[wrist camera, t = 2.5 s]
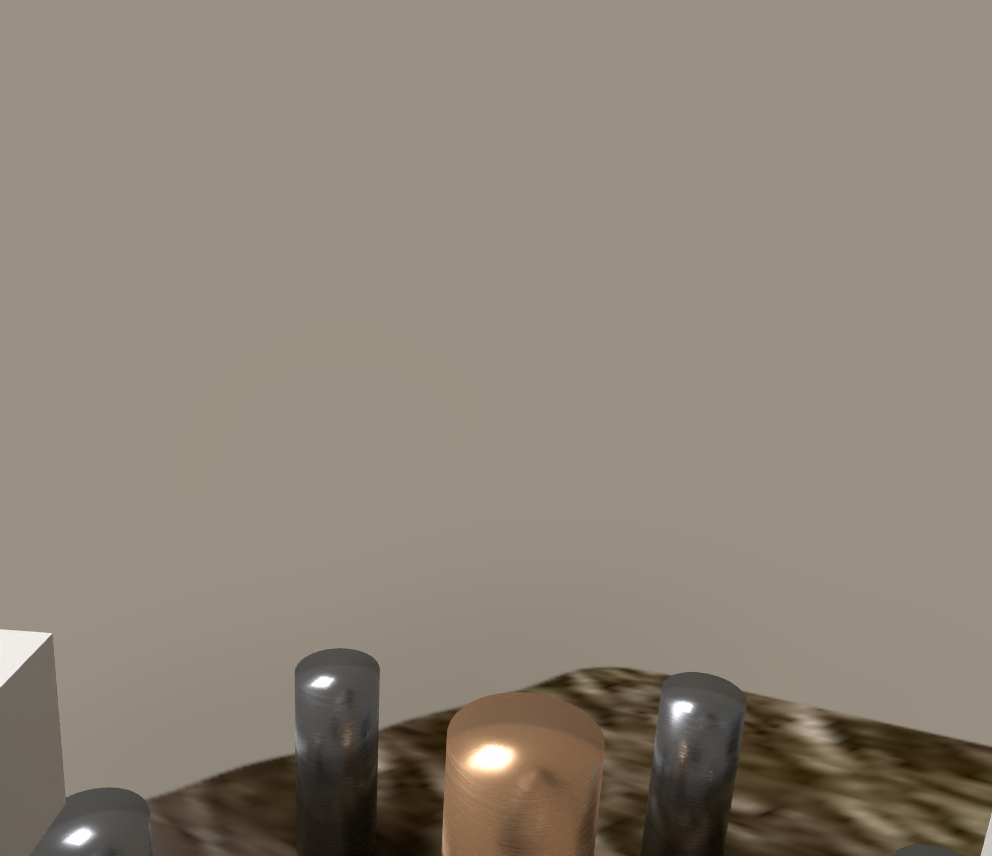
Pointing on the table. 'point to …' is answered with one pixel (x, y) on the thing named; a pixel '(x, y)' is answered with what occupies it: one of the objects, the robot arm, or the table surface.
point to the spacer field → (354, 762)
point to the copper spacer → (522, 778)
